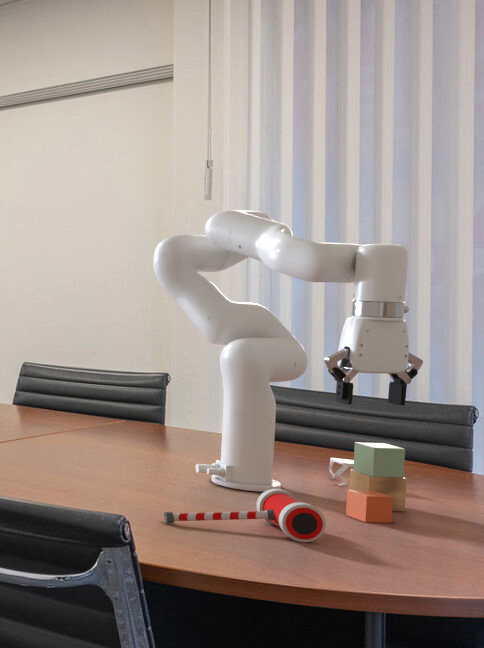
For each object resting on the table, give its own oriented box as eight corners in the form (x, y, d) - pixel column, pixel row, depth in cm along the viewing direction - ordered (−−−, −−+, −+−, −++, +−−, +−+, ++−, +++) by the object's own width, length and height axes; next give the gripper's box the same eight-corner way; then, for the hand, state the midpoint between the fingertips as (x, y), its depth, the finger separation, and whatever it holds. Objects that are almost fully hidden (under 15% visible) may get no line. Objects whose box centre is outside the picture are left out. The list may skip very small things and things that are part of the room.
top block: (365, 522, 153) (366, 496, 153) (345, 515, 158) (347, 489, 158) (391, 522, 153) (393, 496, 153) (371, 515, 158) (372, 490, 158)
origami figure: (316, 482, 184) (318, 460, 183) (329, 477, 189) (330, 455, 189) (385, 494, 174) (386, 470, 174) (396, 488, 179) (398, 465, 179)
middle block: (372, 476, 162) (374, 447, 162) (353, 470, 167) (354, 442, 167) (403, 477, 161) (405, 448, 161) (382, 471, 167) (384, 443, 167)
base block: (367, 509, 162) (369, 476, 162) (348, 501, 168) (350, 469, 168) (404, 511, 161) (406, 478, 161) (384, 502, 167) (386, 471, 167)
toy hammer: (174, 532, 145) (176, 496, 145) (155, 514, 157) (157, 480, 156) (325, 544, 140) (327, 506, 140) (294, 524, 151) (296, 489, 151)
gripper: (408, 311, 158) (400, 401, 160) (315, 309, 158) (309, 399, 160) (442, 313, 151) (434, 408, 152) (345, 311, 151) (338, 406, 152)
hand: (370, 403), depth 156 cm, fingers open, 9 cm apart
